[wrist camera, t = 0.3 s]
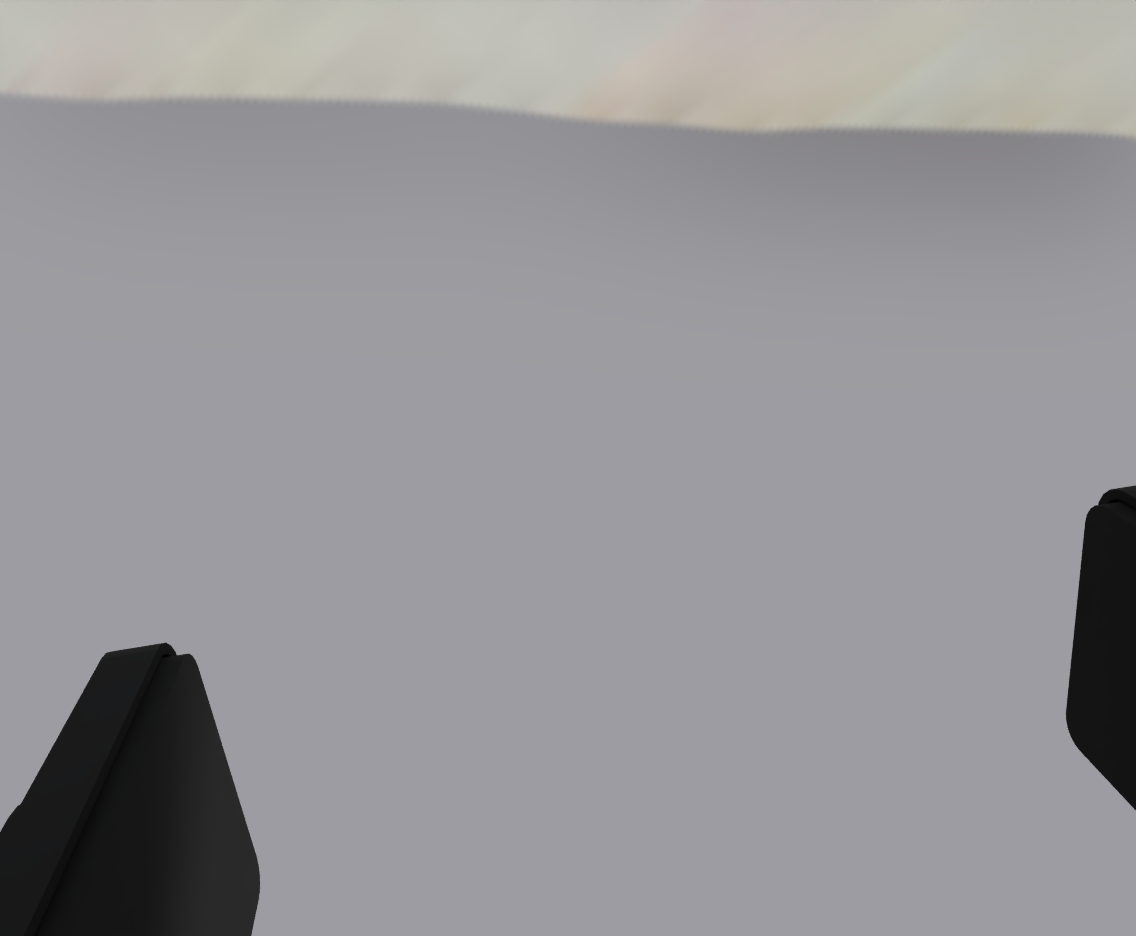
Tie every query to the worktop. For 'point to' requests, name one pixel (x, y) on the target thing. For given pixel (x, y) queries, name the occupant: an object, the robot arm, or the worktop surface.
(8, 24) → the worktop surface
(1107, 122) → the worktop surface
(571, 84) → the worktop surface
